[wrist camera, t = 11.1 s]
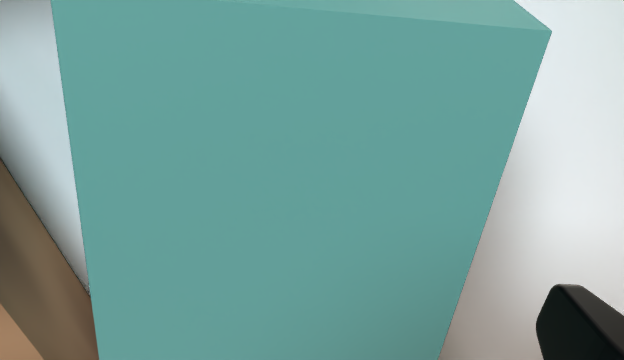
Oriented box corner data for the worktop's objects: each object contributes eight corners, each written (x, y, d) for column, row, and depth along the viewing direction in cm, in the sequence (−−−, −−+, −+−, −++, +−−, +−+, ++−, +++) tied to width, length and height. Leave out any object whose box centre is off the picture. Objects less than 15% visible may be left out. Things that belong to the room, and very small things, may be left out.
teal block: (170, 245, 16) (118, 497, 10) (160, -111, 11) (48, -15, 5) (346, 252, 17) (390, 494, 11) (409, -83, 12) (552, 30, 6)
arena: (-297, -189, 10) (-478, -186, 8) (369, -396, 9) (407, -467, 7) (82, 348, 18) (54, 433, 16) (455, 264, 18) (486, 340, 15)
